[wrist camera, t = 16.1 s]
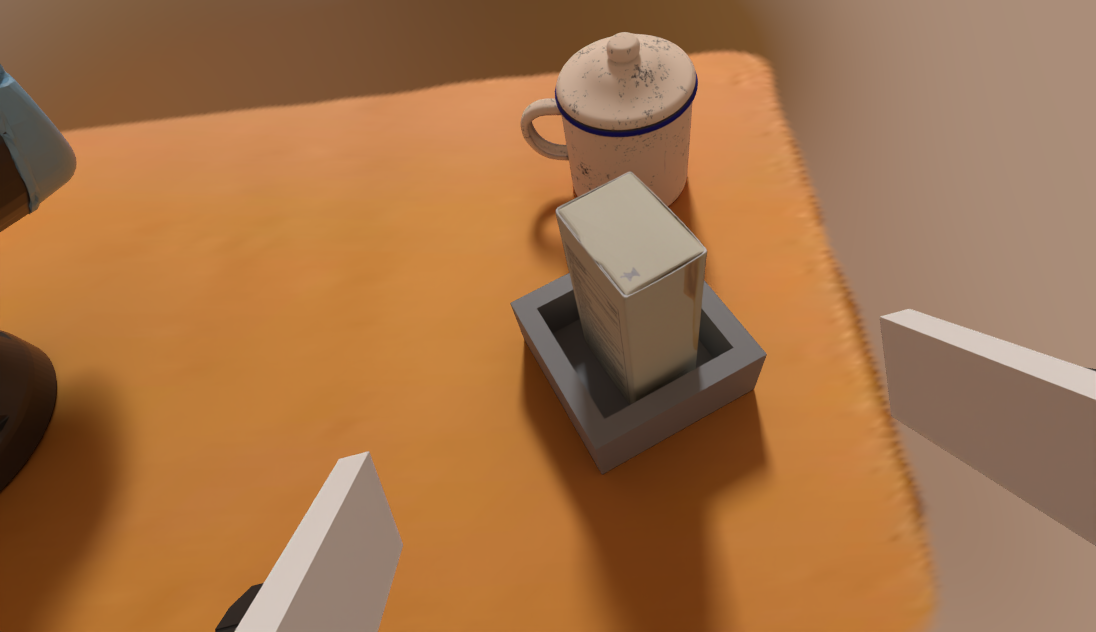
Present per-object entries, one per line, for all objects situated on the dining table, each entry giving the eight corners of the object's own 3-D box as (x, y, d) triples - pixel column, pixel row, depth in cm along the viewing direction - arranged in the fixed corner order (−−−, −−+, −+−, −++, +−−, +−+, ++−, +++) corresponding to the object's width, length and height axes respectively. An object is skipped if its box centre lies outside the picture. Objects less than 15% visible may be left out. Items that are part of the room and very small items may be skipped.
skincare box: (697, 378, 35) (717, 254, 24) (635, 415, 34) (627, 304, 24) (637, 302, 38) (631, 164, 28) (579, 334, 37) (551, 206, 27)
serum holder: (601, 474, 34) (595, 449, 30) (524, 338, 39) (510, 302, 35) (754, 388, 35) (766, 354, 31) (658, 268, 40) (659, 226, 36)
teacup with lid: (691, 135, 46) (702, -10, 36) (688, 225, 42) (700, 88, 32) (542, 137, 49) (515, 2, 39) (525, 223, 44) (488, 95, 34)
